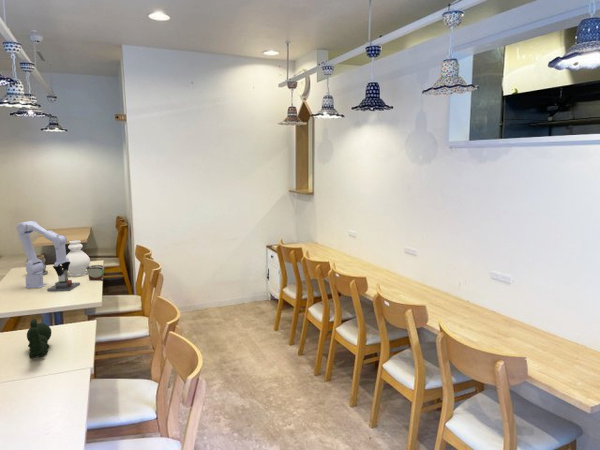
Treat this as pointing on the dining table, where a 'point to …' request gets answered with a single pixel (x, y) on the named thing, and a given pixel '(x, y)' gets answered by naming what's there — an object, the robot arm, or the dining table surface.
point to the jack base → (63, 286)
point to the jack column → (63, 276)
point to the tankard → (42, 262)
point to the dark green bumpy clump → (38, 338)
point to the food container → (95, 272)
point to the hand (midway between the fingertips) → (62, 274)
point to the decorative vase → (77, 259)
